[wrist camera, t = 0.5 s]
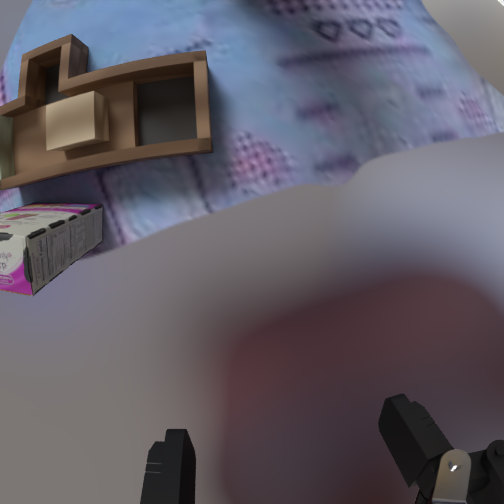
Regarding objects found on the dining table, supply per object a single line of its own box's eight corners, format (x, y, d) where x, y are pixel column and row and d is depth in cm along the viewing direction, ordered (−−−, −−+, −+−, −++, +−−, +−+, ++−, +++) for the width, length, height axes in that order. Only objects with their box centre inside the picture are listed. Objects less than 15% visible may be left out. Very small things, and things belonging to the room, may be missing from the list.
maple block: (63, 110, 26) (46, 105, 23) (108, 98, 27) (93, 90, 23) (64, 151, 28) (46, 150, 24) (109, 141, 28) (94, 138, 24)
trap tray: (18, 74, 25) (-2, 67, 20) (206, 24, 27) (204, 4, 22) (18, 187, 30) (-4, 191, 25) (213, 152, 32) (211, 149, 27)
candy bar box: (34, 239, 32) (-47, 282, 16) (33, 202, 31) (-55, 229, 15) (105, 244, 33) (32, 299, 17) (105, 203, 32) (24, 233, 16)
